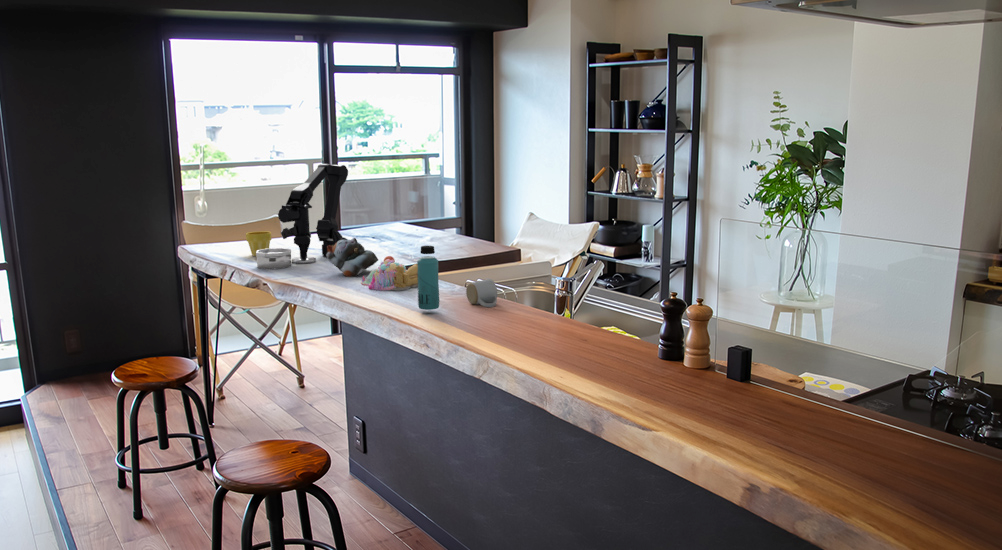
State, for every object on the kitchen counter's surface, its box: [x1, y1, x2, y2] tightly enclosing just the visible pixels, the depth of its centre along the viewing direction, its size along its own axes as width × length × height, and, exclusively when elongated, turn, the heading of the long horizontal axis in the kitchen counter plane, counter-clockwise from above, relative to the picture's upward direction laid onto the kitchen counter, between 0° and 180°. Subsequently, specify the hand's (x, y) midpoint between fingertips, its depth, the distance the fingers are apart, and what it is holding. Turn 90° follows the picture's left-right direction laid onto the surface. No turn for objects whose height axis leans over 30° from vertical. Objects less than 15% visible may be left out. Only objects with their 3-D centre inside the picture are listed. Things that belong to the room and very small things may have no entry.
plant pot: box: [245, 230, 272, 257], centre depth 321 cm, size 10×10×10 cm
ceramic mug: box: [465, 278, 498, 308], centre depth 232 cm, size 10×8×7 cm
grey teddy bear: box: [326, 236, 379, 278], centre depth 281 cm, size 17×14×16 cm
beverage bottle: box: [416, 245, 440, 311], centre depth 220 cm, size 6×7×20 cm
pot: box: [255, 247, 293, 270], centre depth 296 cm, size 13×19×6 cm
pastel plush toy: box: [360, 255, 418, 291], centre depth 262 cm, size 25×24×9 cm
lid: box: [291, 251, 317, 265], centre depth 306 cm, size 10×10×5 cm
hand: (303, 257), depth 306 cm, fingers closed on lid, 3 cm apart
